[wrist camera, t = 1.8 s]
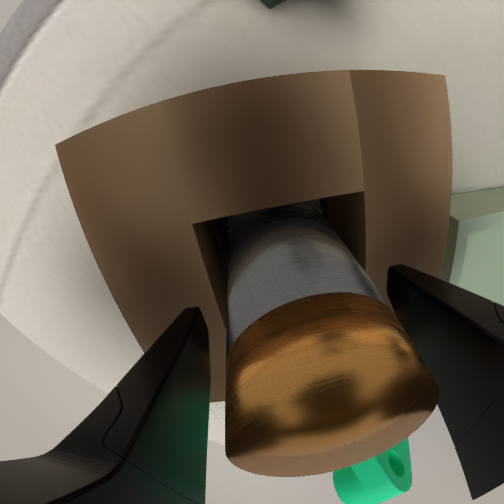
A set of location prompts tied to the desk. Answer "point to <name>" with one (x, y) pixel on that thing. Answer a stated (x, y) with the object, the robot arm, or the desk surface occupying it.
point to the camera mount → (376, 477)
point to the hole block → (260, 184)
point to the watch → (272, 2)
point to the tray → (476, 243)
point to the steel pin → (312, 351)
